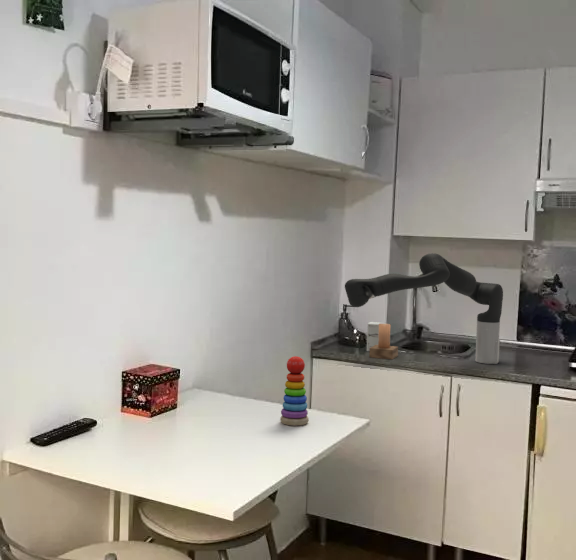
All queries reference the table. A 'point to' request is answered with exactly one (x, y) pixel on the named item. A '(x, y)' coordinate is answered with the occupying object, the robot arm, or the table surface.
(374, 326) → the supplement box
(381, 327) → the orange tan block
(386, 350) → the base
